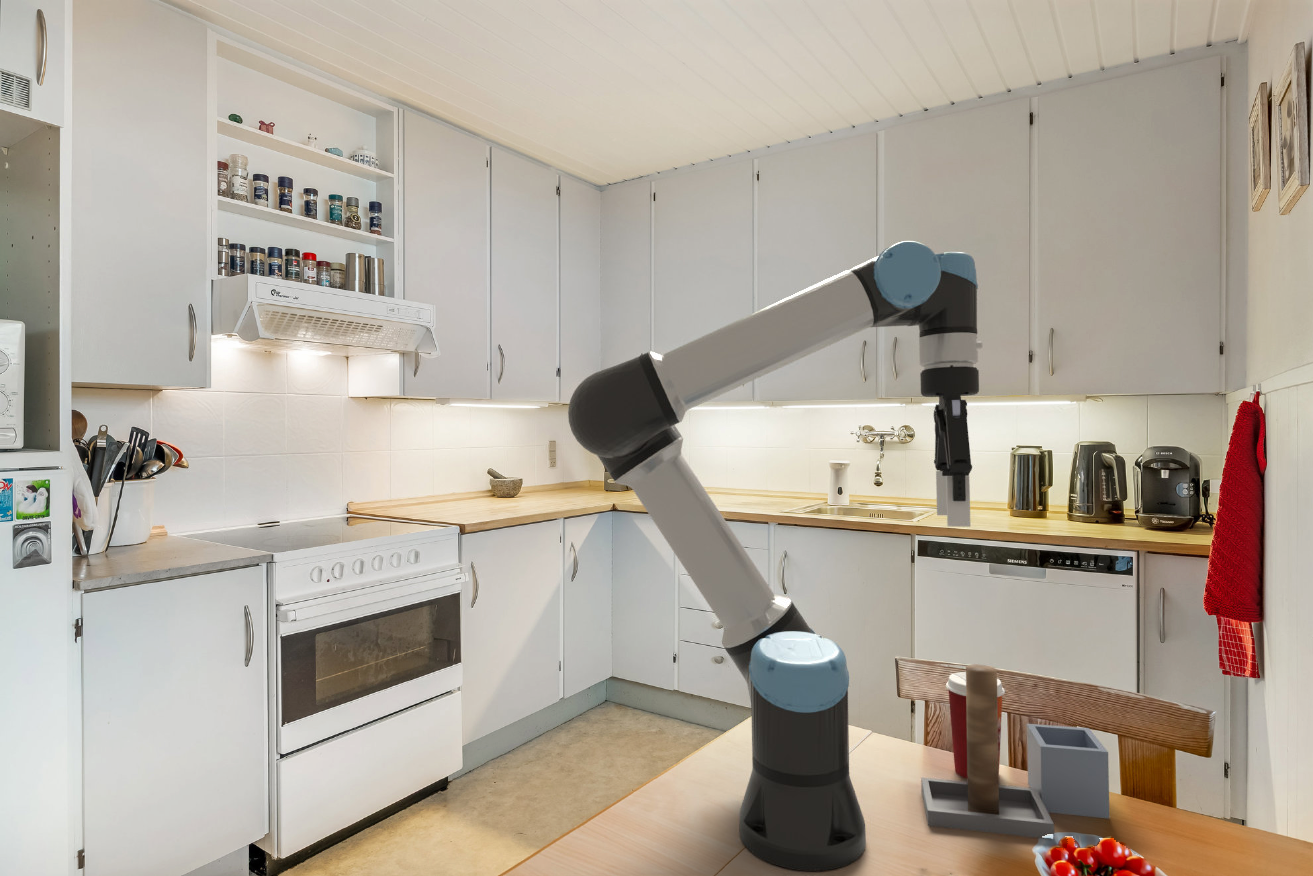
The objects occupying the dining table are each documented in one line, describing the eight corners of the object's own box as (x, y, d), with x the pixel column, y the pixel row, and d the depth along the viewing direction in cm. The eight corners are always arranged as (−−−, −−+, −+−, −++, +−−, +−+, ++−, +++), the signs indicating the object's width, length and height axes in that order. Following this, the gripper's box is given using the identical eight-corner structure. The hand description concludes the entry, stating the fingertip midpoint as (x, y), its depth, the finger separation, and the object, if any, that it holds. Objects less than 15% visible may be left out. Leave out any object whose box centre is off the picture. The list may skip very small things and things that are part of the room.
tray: (928, 831, 90) (927, 810, 90) (921, 796, 98) (921, 777, 98) (1054, 846, 86) (1053, 824, 86) (1035, 808, 95) (1035, 788, 95)
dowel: (970, 817, 91) (968, 672, 91) (966, 803, 94) (963, 663, 94) (1001, 820, 90) (999, 674, 90) (996, 806, 93) (994, 665, 94)
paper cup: (1013, 793, 99) (1011, 689, 99) (953, 788, 100) (951, 686, 100) (998, 767, 107) (996, 671, 107) (942, 763, 108) (941, 669, 108)
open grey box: (1042, 817, 92) (1040, 746, 92) (1028, 789, 100) (1026, 723, 100) (1109, 824, 90) (1108, 752, 90) (1090, 795, 98) (1089, 728, 98)
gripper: (994, 356, 88) (998, 532, 88) (965, 373, 112) (968, 511, 112) (928, 359, 90) (932, 531, 90) (914, 375, 114) (917, 511, 114)
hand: (952, 520), depth 101 cm, fingers open, 13 cm apart
